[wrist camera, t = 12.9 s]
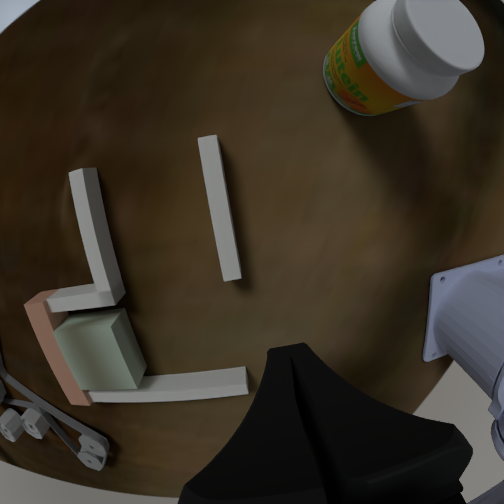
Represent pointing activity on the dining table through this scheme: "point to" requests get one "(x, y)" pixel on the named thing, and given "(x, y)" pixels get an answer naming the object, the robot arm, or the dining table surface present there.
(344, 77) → the supplement bottle
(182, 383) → the channel
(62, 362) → the block
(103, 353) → the block
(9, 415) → the pulley system
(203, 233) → the dining table surface
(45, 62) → the dining table surface
